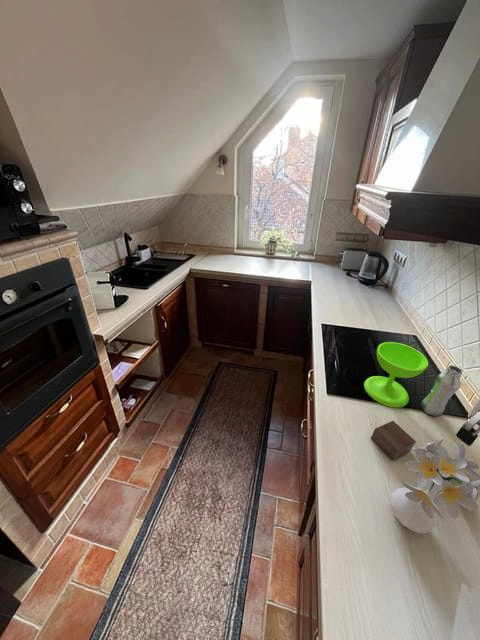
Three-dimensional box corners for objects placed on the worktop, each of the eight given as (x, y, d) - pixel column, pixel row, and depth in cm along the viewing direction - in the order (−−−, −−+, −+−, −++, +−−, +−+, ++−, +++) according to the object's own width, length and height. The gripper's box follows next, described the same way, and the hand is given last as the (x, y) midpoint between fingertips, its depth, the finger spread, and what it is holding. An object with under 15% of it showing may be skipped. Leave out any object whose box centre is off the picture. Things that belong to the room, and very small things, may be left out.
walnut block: (388, 430, 85) (393, 420, 82) (410, 451, 78) (416, 441, 76) (370, 438, 82) (375, 428, 79) (391, 461, 75) (397, 451, 73)
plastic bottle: (419, 400, 96) (442, 359, 85) (441, 409, 92) (468, 368, 82) (418, 412, 91) (442, 370, 81) (440, 421, 88) (469, 379, 78)
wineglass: (385, 373, 108) (400, 339, 99) (419, 401, 95) (439, 365, 86) (355, 381, 104) (367, 346, 95) (385, 412, 91) (403, 374, 82)
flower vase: (366, 527, 61) (403, 470, 48) (393, 473, 72) (428, 415, 60) (428, 581, 53) (492, 531, 40) (447, 511, 64) (502, 454, 52)
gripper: (510, 409, 49) (470, 460, 58) (556, 384, 55) (512, 434, 64) (468, 384, 55) (437, 433, 64) (513, 363, 61) (479, 411, 70)
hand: (475, 433), depth 64 cm, fingers open, 9 cm apart
